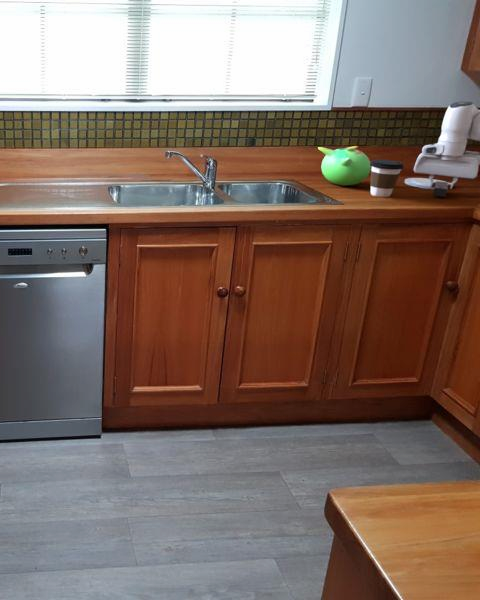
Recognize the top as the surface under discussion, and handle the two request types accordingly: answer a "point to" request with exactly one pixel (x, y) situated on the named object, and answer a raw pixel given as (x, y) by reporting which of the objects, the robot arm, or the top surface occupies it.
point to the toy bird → (345, 165)
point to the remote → (440, 189)
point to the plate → (421, 182)
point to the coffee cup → (384, 176)
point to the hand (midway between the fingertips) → (440, 187)
